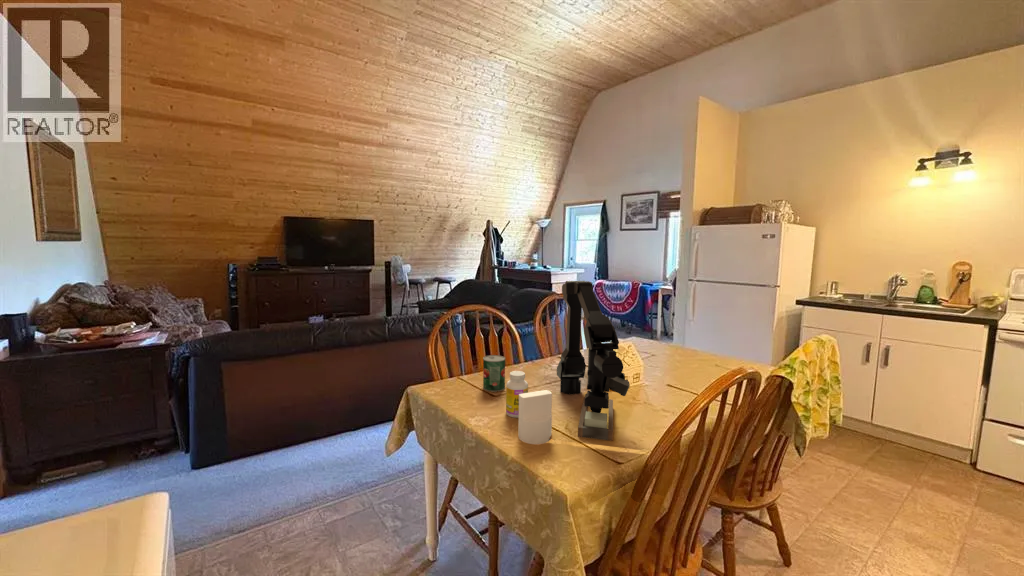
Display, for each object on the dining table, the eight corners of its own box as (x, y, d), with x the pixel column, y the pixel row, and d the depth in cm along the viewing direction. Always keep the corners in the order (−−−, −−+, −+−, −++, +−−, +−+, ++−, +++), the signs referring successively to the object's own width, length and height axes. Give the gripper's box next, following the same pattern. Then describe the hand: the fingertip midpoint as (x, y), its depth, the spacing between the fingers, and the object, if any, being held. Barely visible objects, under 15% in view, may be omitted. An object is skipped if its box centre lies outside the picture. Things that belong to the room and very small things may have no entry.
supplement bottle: (512, 420, 124) (512, 378, 122) (502, 411, 129) (502, 371, 128) (531, 415, 127) (532, 374, 125) (521, 408, 132) (521, 368, 131)
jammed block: (584, 434, 113) (584, 418, 112) (585, 426, 118) (585, 411, 117) (606, 436, 112) (606, 420, 111) (606, 429, 116) (607, 413, 116)
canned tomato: (509, 389, 149) (509, 359, 148) (490, 393, 145) (490, 362, 144) (497, 382, 156) (497, 353, 155) (479, 386, 151) (479, 357, 150)
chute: (577, 439, 112) (578, 427, 111) (583, 407, 133) (583, 396, 133) (612, 443, 110) (612, 431, 109) (612, 410, 131) (612, 399, 131)
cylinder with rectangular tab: (527, 447, 108) (527, 402, 106) (513, 432, 116) (513, 390, 114) (557, 440, 111) (558, 397, 110) (541, 426, 119) (542, 386, 118)
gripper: (629, 379, 105) (627, 438, 107) (627, 358, 124) (625, 409, 125) (585, 375, 108) (583, 433, 110) (589, 356, 126) (587, 405, 128)
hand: (596, 419), depth 118 cm, fingers closed
